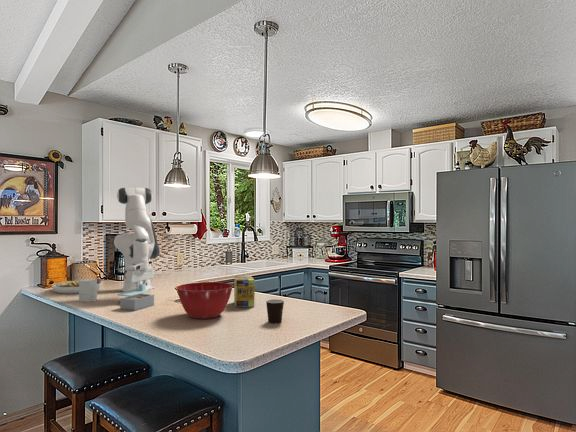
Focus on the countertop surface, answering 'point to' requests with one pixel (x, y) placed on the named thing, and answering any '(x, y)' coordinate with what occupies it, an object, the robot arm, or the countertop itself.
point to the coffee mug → (274, 310)
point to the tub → (136, 302)
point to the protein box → (244, 291)
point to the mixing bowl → (204, 298)
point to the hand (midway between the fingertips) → (140, 288)
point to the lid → (135, 291)
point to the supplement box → (87, 290)
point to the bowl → (70, 287)
